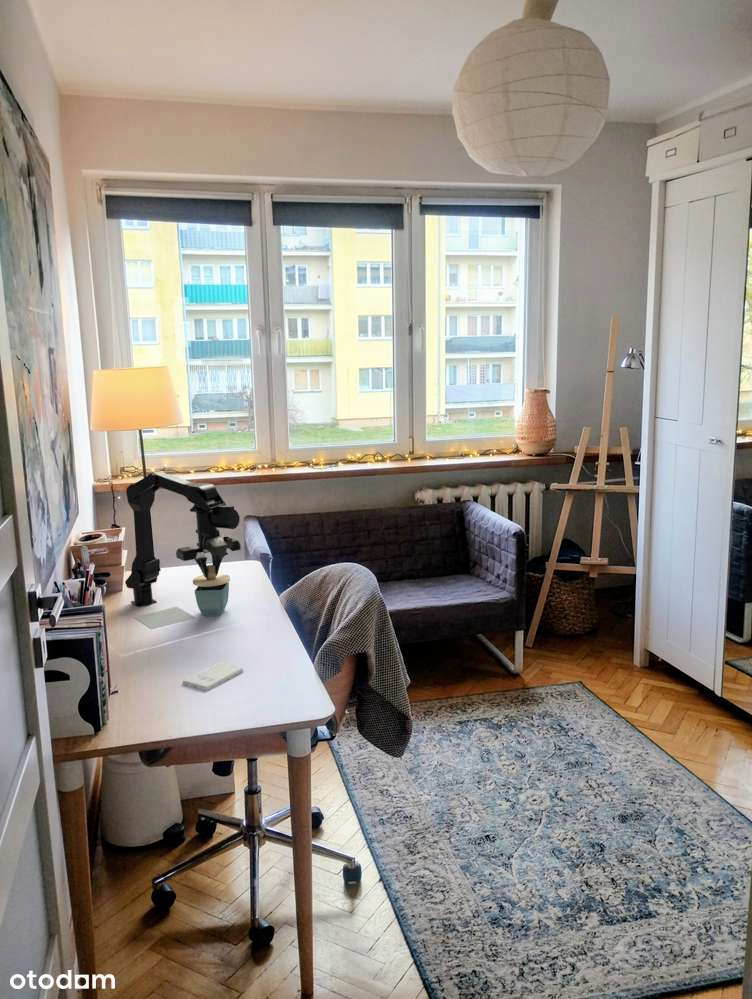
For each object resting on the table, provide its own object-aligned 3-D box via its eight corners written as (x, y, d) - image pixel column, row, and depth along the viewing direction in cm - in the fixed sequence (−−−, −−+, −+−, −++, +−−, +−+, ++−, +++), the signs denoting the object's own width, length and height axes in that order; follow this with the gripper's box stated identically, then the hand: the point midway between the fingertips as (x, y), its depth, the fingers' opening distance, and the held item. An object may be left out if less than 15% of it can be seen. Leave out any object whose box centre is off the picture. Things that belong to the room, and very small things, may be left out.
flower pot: (225, 618, 233) (223, 589, 231) (196, 619, 233) (193, 590, 231) (231, 609, 241) (229, 581, 240) (203, 609, 242) (201, 582, 240)
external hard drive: (243, 673, 193) (207, 692, 183) (219, 667, 197) (182, 685, 187) (242, 667, 193) (206, 686, 182) (219, 661, 197) (182, 679, 187)
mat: (133, 618, 236) (133, 617, 236) (176, 607, 244) (176, 606, 244) (151, 630, 225) (151, 628, 225) (196, 618, 234) (196, 617, 234)
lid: (186, 581, 236) (185, 566, 235) (219, 573, 243) (218, 559, 242) (202, 589, 228) (201, 573, 227) (236, 581, 234) (235, 565, 233)
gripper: (189, 536, 220) (193, 589, 223) (247, 525, 231) (251, 575, 234) (173, 530, 229) (177, 581, 232) (230, 520, 240) (233, 568, 243)
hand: (211, 576), depth 235 cm, fingers closed on lid, 3 cm apart
